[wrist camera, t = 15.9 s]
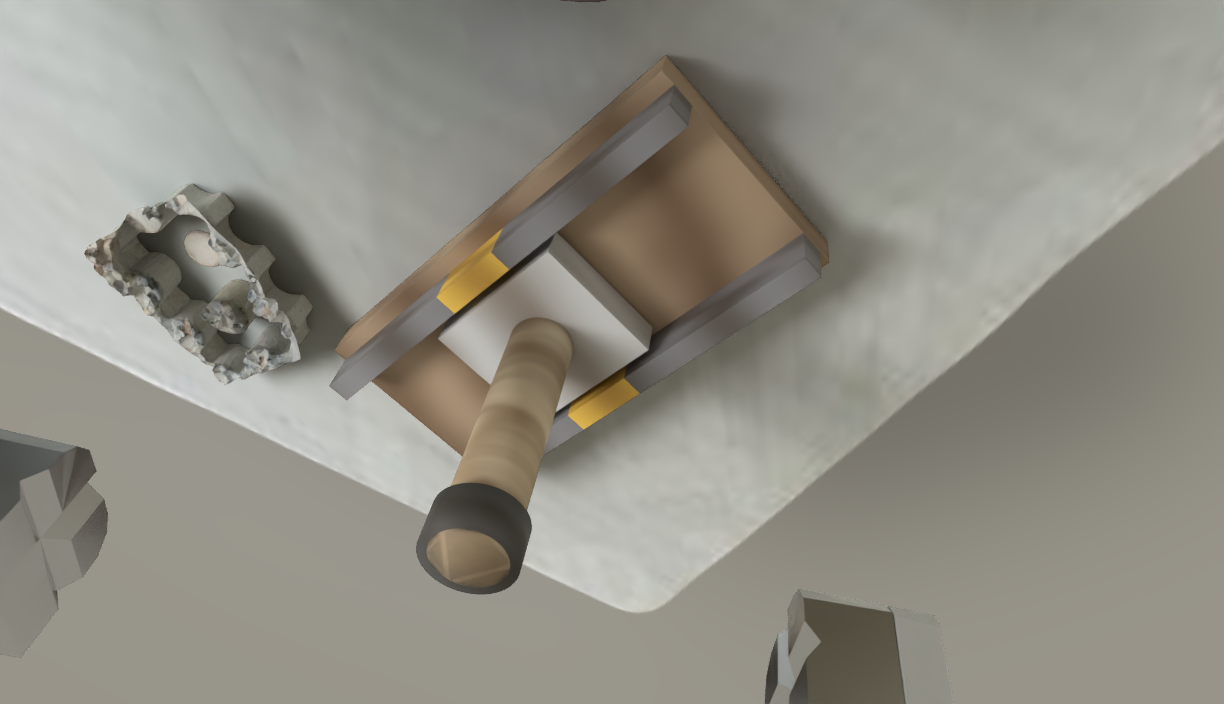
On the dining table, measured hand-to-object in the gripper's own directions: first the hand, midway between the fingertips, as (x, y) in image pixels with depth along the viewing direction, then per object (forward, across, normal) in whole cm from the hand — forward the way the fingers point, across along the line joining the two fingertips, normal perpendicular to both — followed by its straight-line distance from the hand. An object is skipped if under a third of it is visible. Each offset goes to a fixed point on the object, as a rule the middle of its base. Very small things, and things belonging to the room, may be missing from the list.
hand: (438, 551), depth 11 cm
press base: (+34, +2, +19) cm, 39 cm away
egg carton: (+35, +21, +22) cm, 46 cm away
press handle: (+32, +3, +19) cm, 37 cm away
